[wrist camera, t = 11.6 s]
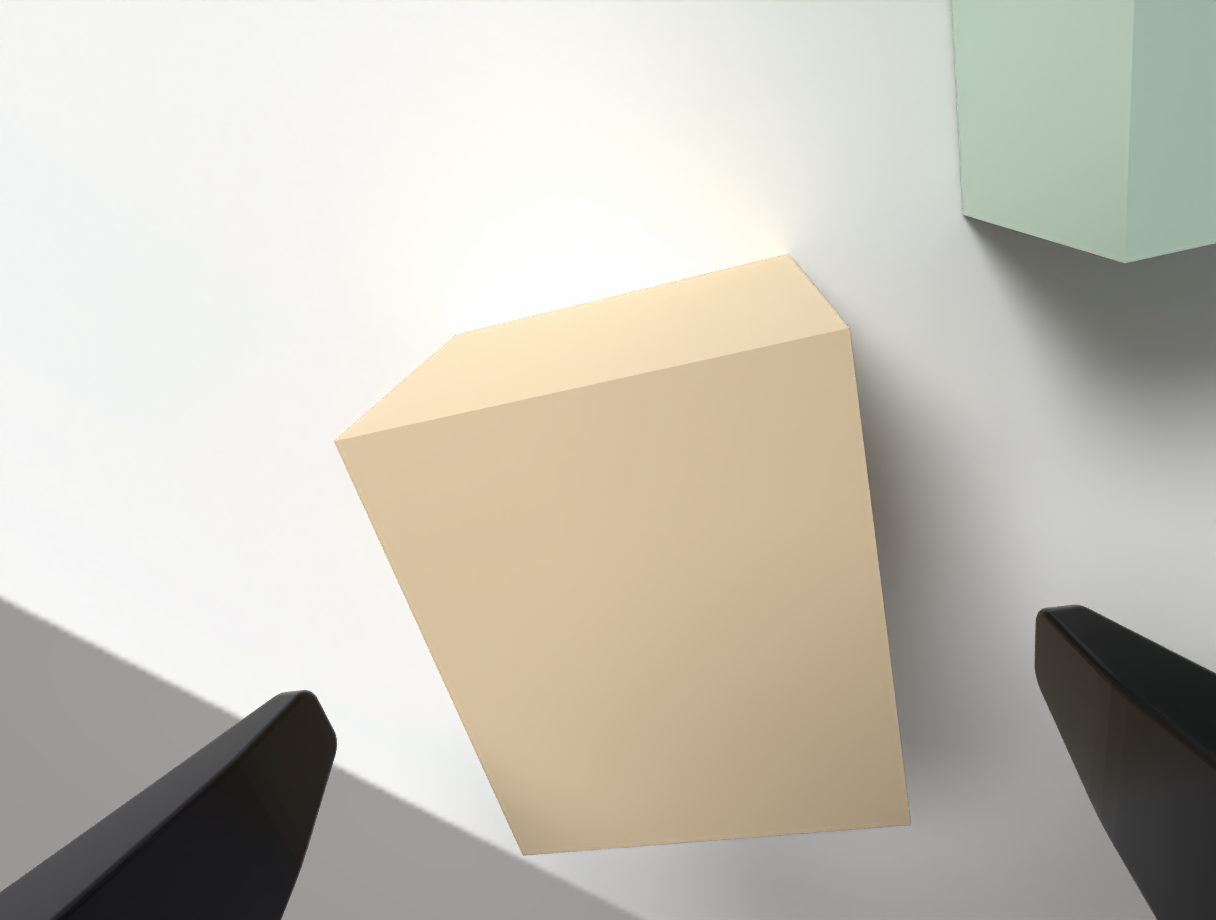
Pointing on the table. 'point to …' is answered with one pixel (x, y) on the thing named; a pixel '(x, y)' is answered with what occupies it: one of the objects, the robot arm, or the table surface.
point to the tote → (1089, 121)
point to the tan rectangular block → (649, 563)
